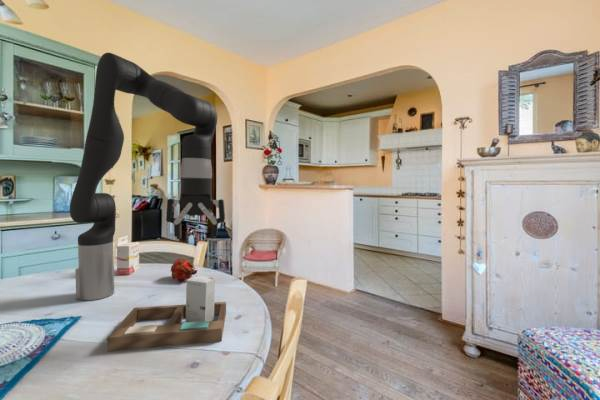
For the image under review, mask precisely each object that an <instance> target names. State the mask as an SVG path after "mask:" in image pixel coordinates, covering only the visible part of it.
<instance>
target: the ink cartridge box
mask: <svg viewBox="0 0 600 400" xmlns="http://www.w3.org/2000/svg"><path fill="white" fill-rule="evenodd" d="M138 270H140V242H139V241H135V242H134V241H132V242H130V241H129V235H124V236H122V237H118V238H117V241H116V275H117V276H130V275H131V273H132V274H133V273H135V272H137V271H138Z"/></svg>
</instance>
